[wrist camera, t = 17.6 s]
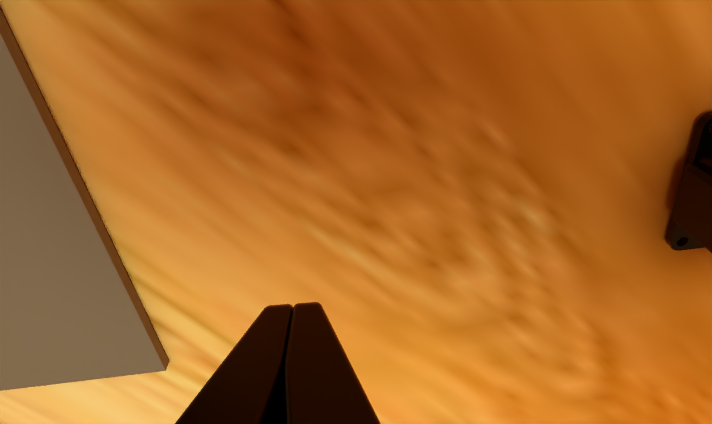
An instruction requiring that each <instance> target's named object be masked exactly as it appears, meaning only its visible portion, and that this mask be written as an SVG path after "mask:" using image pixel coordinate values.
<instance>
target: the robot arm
mask: <svg viewBox="0 0 712 424" xmlns="http://www.w3.org/2000/svg"><path fill="white" fill-rule="evenodd" d="M711 124H712V112H710V113H707V114H705V115H704V116H702V117H701V118H700V119H699V120H698V122H697V124H696V127H695V131H694V135H693V138H692V142H691V146H690V150H689V153H688V157H687V161H686V165H685V168H684V172H683V175H682V179H681V183H680V186H679V190H678V194H677V198H676V201H675V205H674V209H673V213H672V217H671V221H670V224H669V228H668V232H667V236H666V242H667V244H668V245H669V246H670V247H671V248H672V249H674V250H688V249H696V248H704V247H705V248H707V249H708V250H709V251H710V252H711V253H712V128H711V129H709V127H710V125H711ZM680 238H681V239H680ZM678 239H680V240H678ZM175 424H380V422H379V420H378V418H377V416H376V414H375V412H374V410H373V408H372V406H371V404H370V402H369V400H368V398H367V396H366V394H365V392H364V390H363V388H362V386H361V384H360V382H359V380H358V378H357V376H356V374H355V372H354V370H353V368H352V366H351V364H350V362H349V360H348V358H347V356H346V353H345V351H344V349H343V347H342V345H341V343H340V341H339V339H338V337H337V335H336V333H335V331H334V329H333V327H332V325H331V323H330V321H329V319H328V317H327V315H326V313H325V311H324V309H323V307H322V306H321V304H320V303H318V302H311V303H298V304H296V305H295V306H294V307H293V306H292V305H290V304H283V305H270V306H267V307H266V308H264V310H263V311H262V312H261V313H260V315H259V316H258V317H257V319H256V320H255V321H254V322H253V324H252V325H251V326H250V328H249V329H248V330H247V331H246V333H245V334H244V335H243V337H242V338H241V339H240V340H239V342H238V343H237V344H236V346H235V347H234V348H233V350H232V351H231V352H230V353H229V355H228V356H227V357H226V359H225V360H224V361H223V362H222V364H221V365H220V366H219V368H218V369H217V370H216V371H215V373H214V374H213V375H212V377H211V378H210V379H209V380H208V382H207V383H206V384H205V386H204V387H203V388H202V389H201V391H200V392H199V393H198V395H197V396H196V397H195V398H194V400H193V401H192V402H191V404H190V405H189V406H188V408H187V409H186V410H185V411H184V413H183V414H182V415H181V417H180V418H179V419H178V420H177V422H176V423H175Z"/></svg>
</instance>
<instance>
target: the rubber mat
mask: <svg viewBox="0 0 712 424" xmlns="http://www.w3.org/2000/svg"><path fill="white" fill-rule="evenodd" d="M168 363H169V360H168V358H167V356H166V354H165V352H164V350H163V348H162V346H161V343H160V341H159V339H158V337H157V335H156V333H155V331H154V329H153V327H152V325H151V323H150V320H149V318H148V316H147V314H146V312H145V310H144V308H143V306H142V304H141V302H140V300H139V297H138V295H137V293H136V291H135V289H134V287H133V285H132V283H131V281H130V279H129V277H128V274H127V272H126V270H125V268H124V266H123V264H122V262H121V260H120V258H119V256H118V254H117V251H116V249H115V247H114V245H113V243H112V241H111V239H110V237H109V235H108V233H107V230H106V228H105V226H104V224H103V222H102V220H101V218H100V216H99V214H98V212H97V210H96V207H95V205H94V203H93V201H92V199H91V197H90V195H89V193H88V191H87V189H86V187H85V184H84V182H83V180H82V178H81V176H80V174H79V172H78V170H77V168H76V166H75V164H74V161H73V159H72V157H71V155H70V153H69V151H68V149H67V147H66V145H65V143H64V141H63V138H62V136H61V134H60V132H59V130H58V128H57V126H56V124H55V122H54V120H53V118H52V115H51V113H50V111H49V109H48V107H47V105H46V103H45V101H44V99H43V97H42V94H41V92H40V90H39V88H38V86H37V84H36V82H35V80H34V78H33V76H32V74H31V71H30V69H29V67H28V65H27V63H26V61H25V59H24V57H23V55H22V53H21V51H20V48H19V46H18V44H17V42H16V40H15V38H14V36H13V34H12V32H11V30H10V28H9V25H8V23H7V21H6V19H5V17H4V15H3V13H2V11H1V9H0V391H1V390H10V389H18V388H26V387H35V386H43V385H51V384H59V383H68V382H76V381H84V380H93V379H101V378H109V377H118V376H126V375H134V374H142V373H151V372H159V371H166V368H167V366H168Z"/></svg>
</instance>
